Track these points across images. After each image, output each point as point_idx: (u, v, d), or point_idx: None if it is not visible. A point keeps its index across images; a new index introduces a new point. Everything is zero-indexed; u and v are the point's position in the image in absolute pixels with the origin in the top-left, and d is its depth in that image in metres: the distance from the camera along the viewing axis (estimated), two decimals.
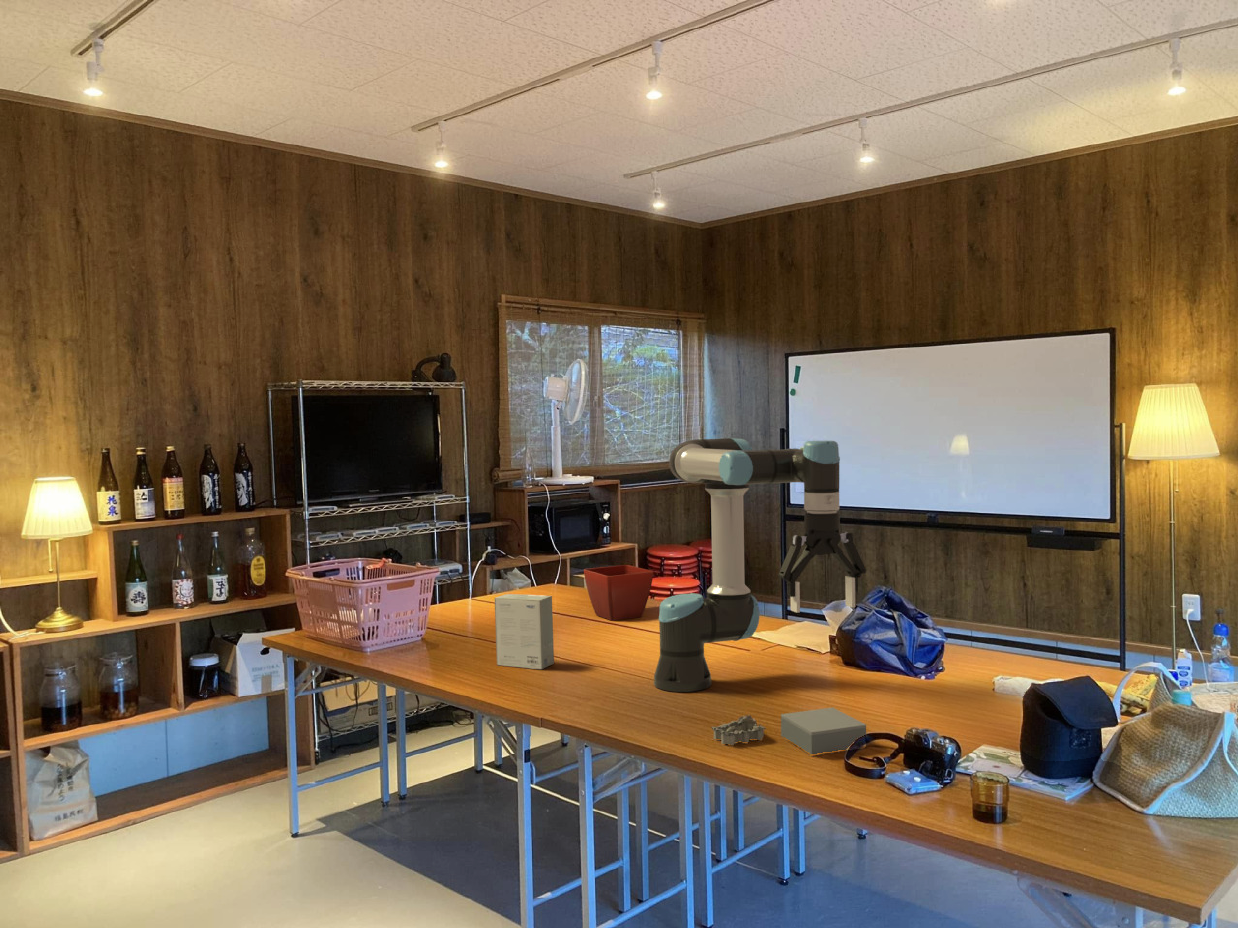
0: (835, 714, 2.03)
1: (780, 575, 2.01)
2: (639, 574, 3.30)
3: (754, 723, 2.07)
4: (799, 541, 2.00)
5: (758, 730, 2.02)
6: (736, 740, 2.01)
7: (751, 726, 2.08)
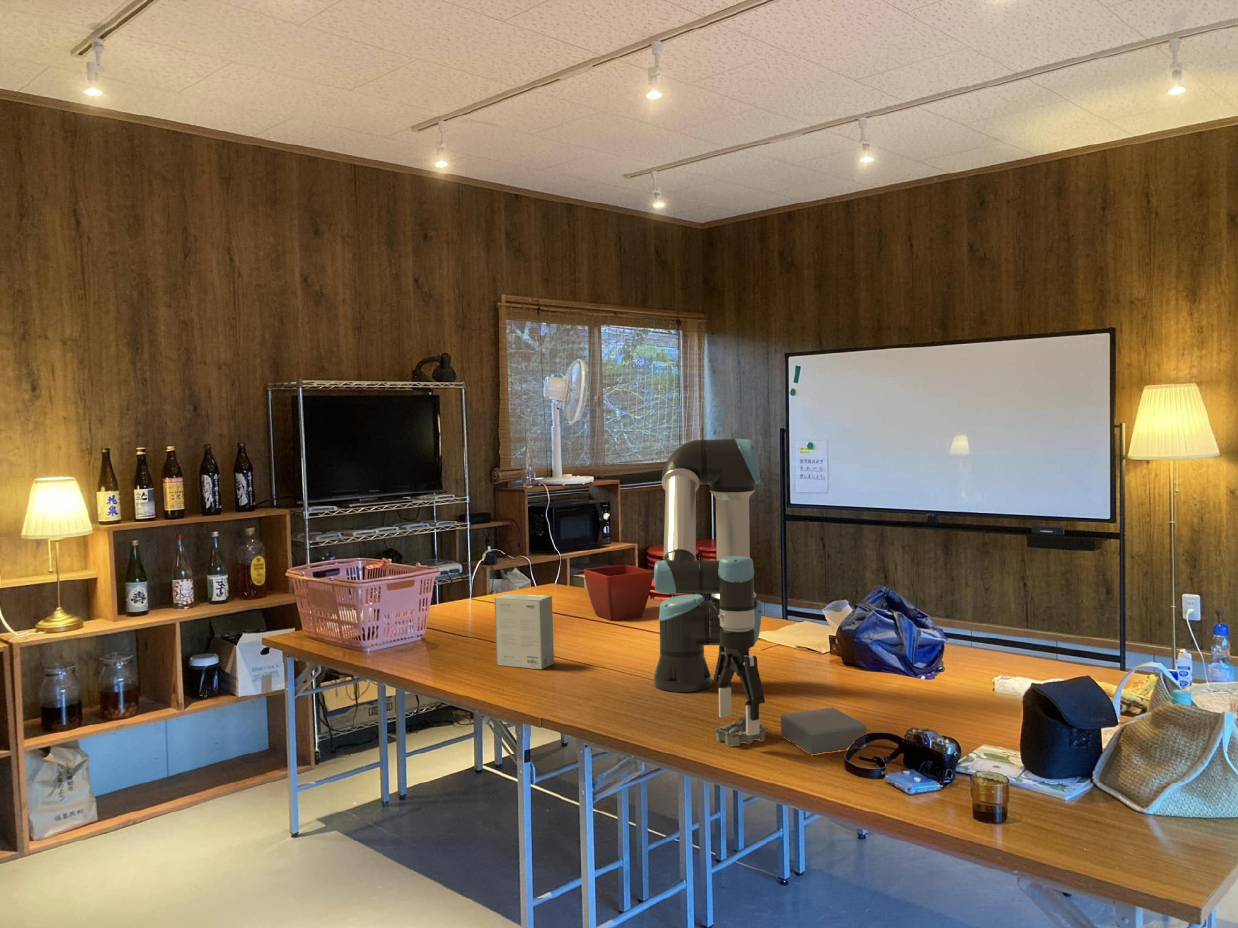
0: (835, 714, 2.03)
1: None
2: (639, 574, 3.30)
3: None
4: (720, 650, 2.09)
5: (761, 730, 2.02)
6: (740, 741, 2.01)
7: None
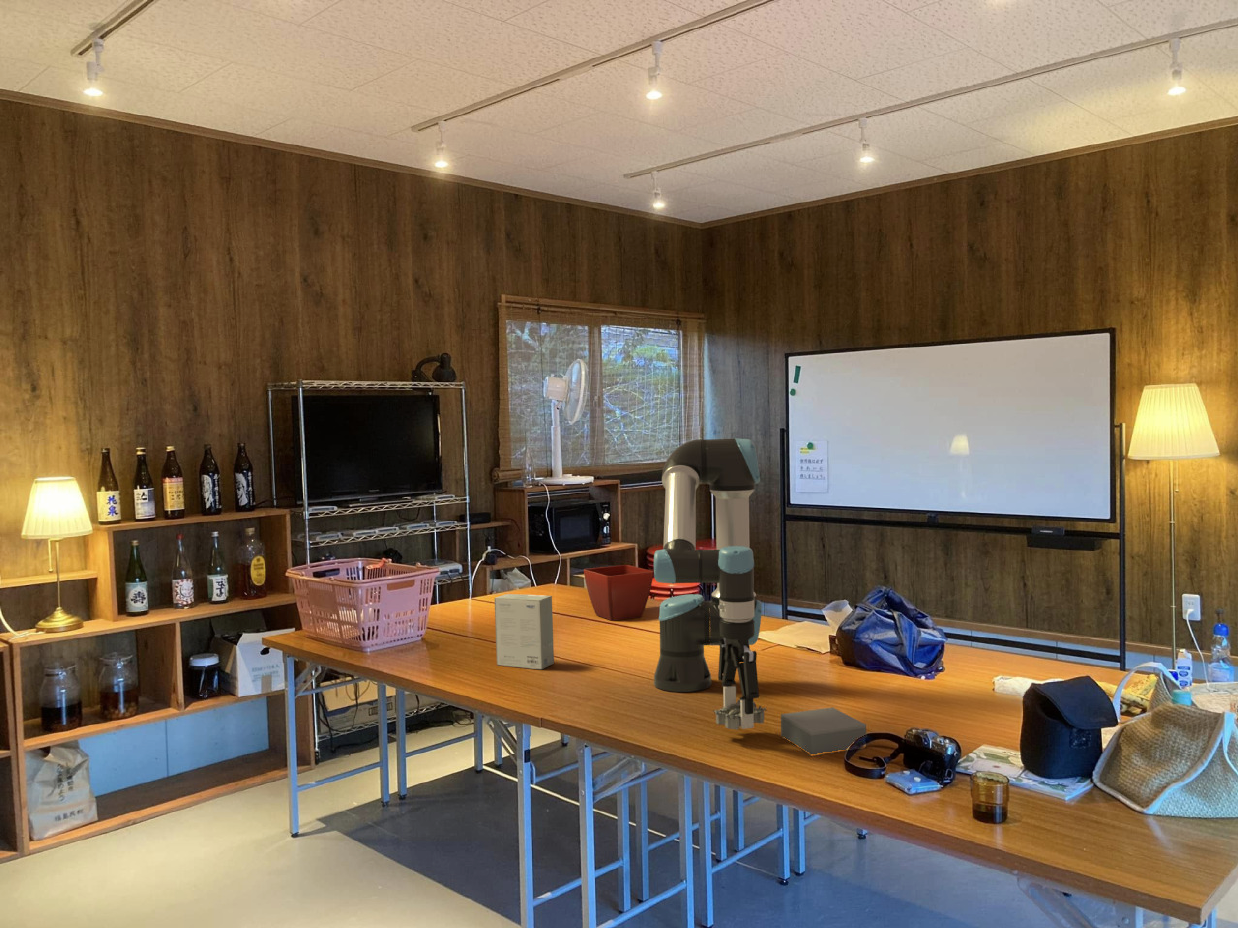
0: (835, 714, 2.03)
1: None
2: (639, 574, 3.30)
3: (753, 705, 2.09)
4: (720, 643, 2.09)
5: (760, 712, 2.03)
6: (739, 723, 2.02)
7: None
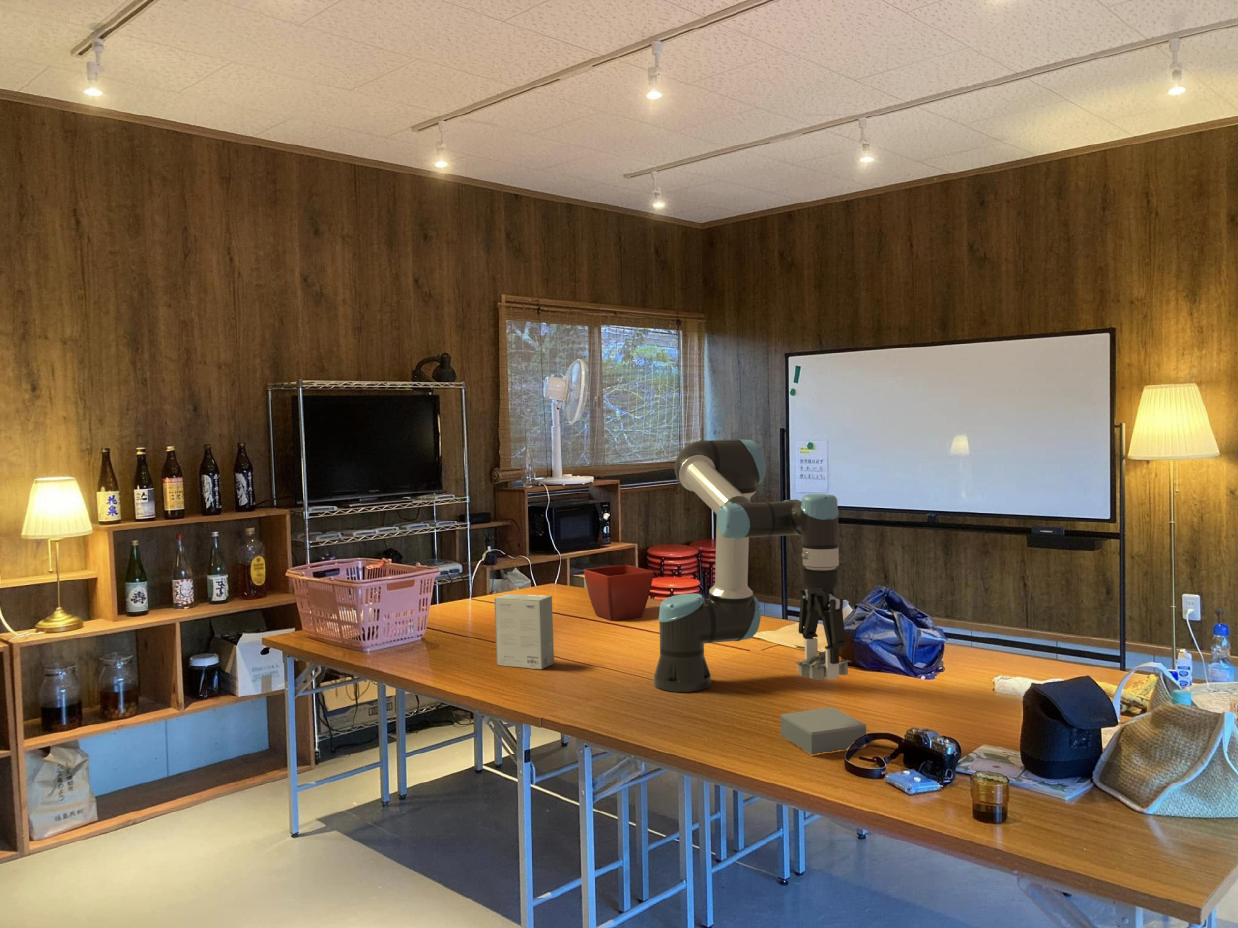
0: (835, 714, 2.03)
1: None
2: (639, 574, 3.30)
3: None
4: (801, 595, 2.04)
5: (844, 663, 1.99)
6: (824, 674, 1.97)
7: None
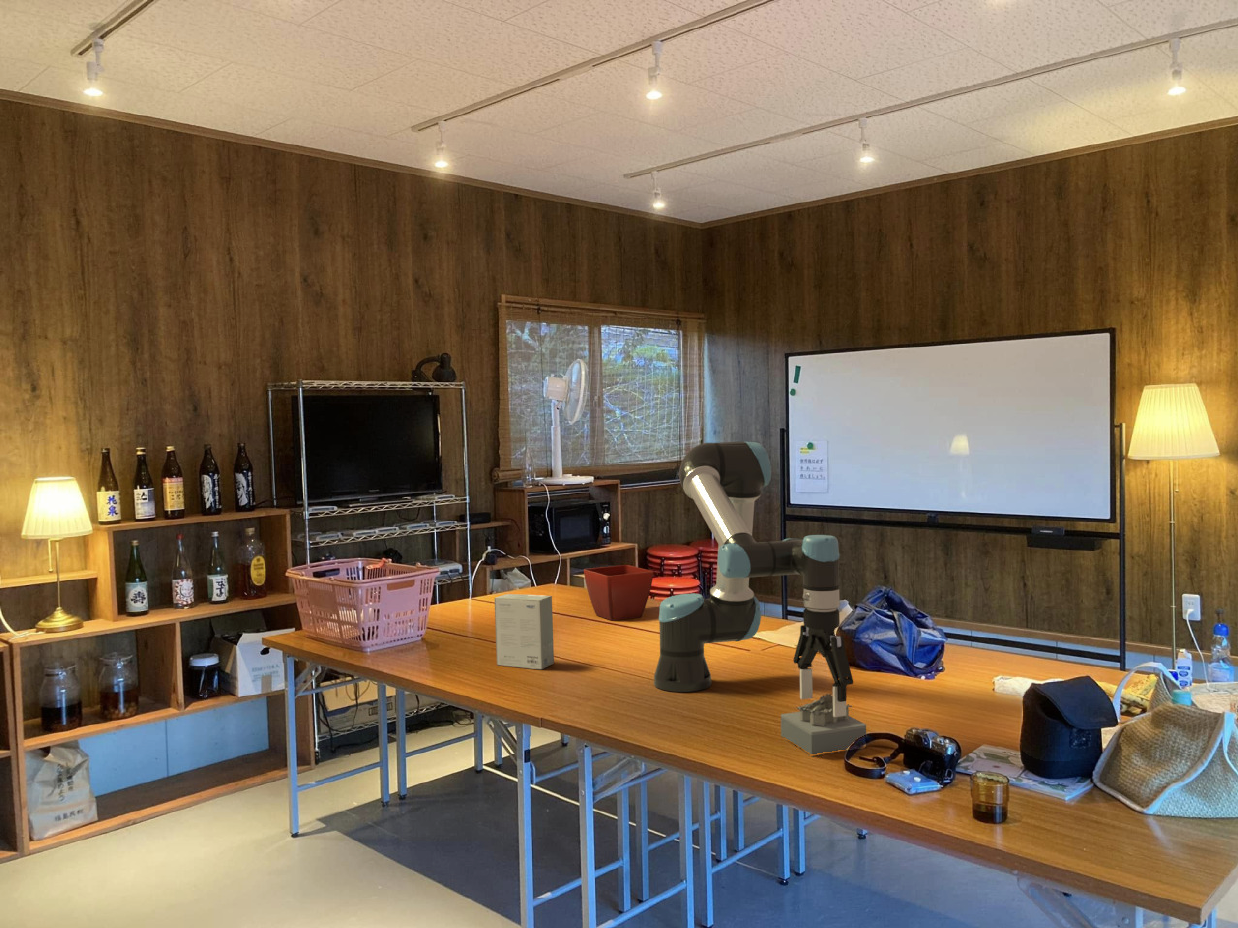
0: None
1: None
2: (639, 574, 3.30)
3: None
4: (801, 630, 2.05)
5: None
6: (824, 719, 1.98)
7: (832, 705, 2.05)
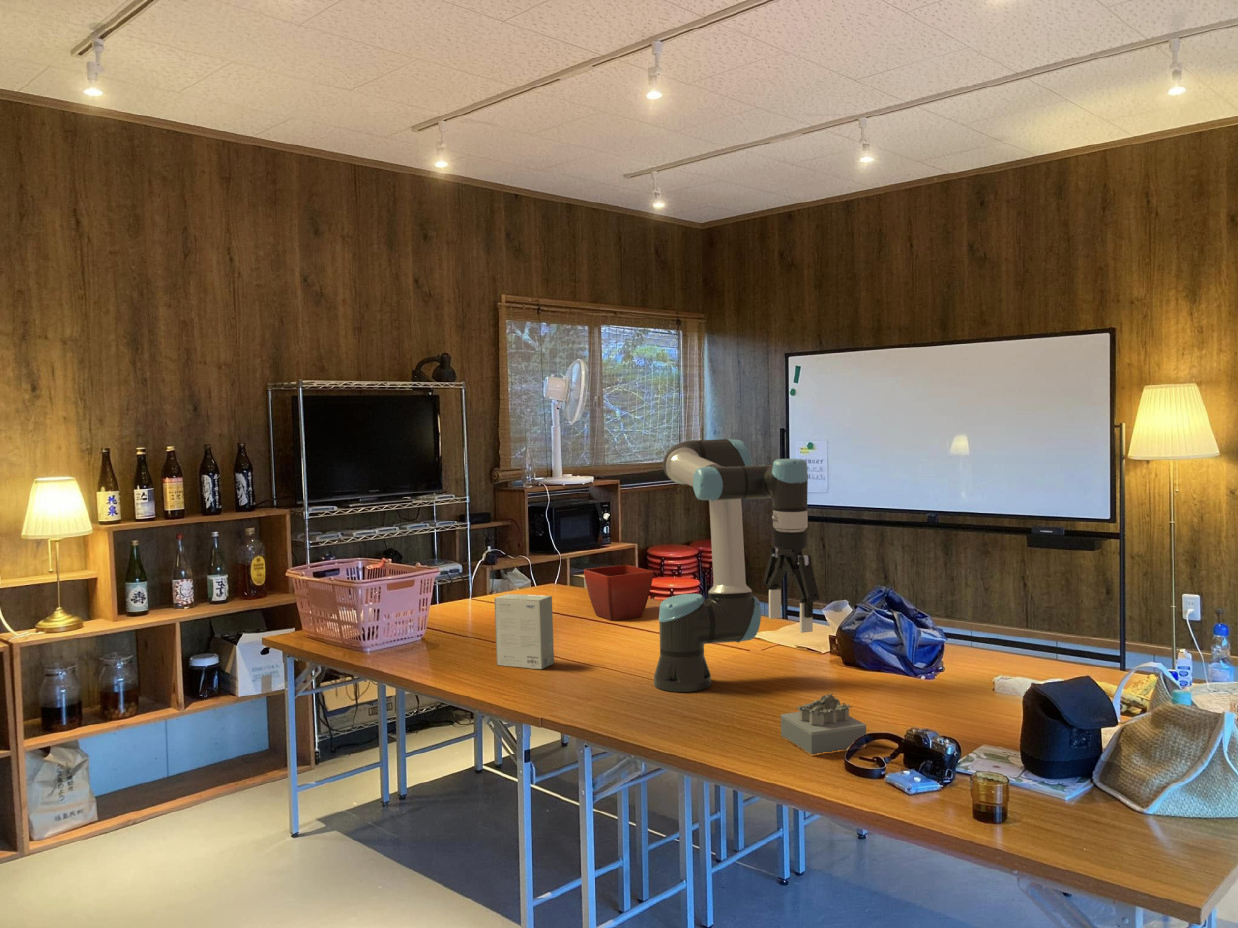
0: None
1: None
2: (639, 574, 3.30)
3: (836, 702, 2.04)
4: (771, 552, 2.11)
5: (845, 708, 1.99)
6: (824, 719, 1.98)
7: (833, 705, 2.05)
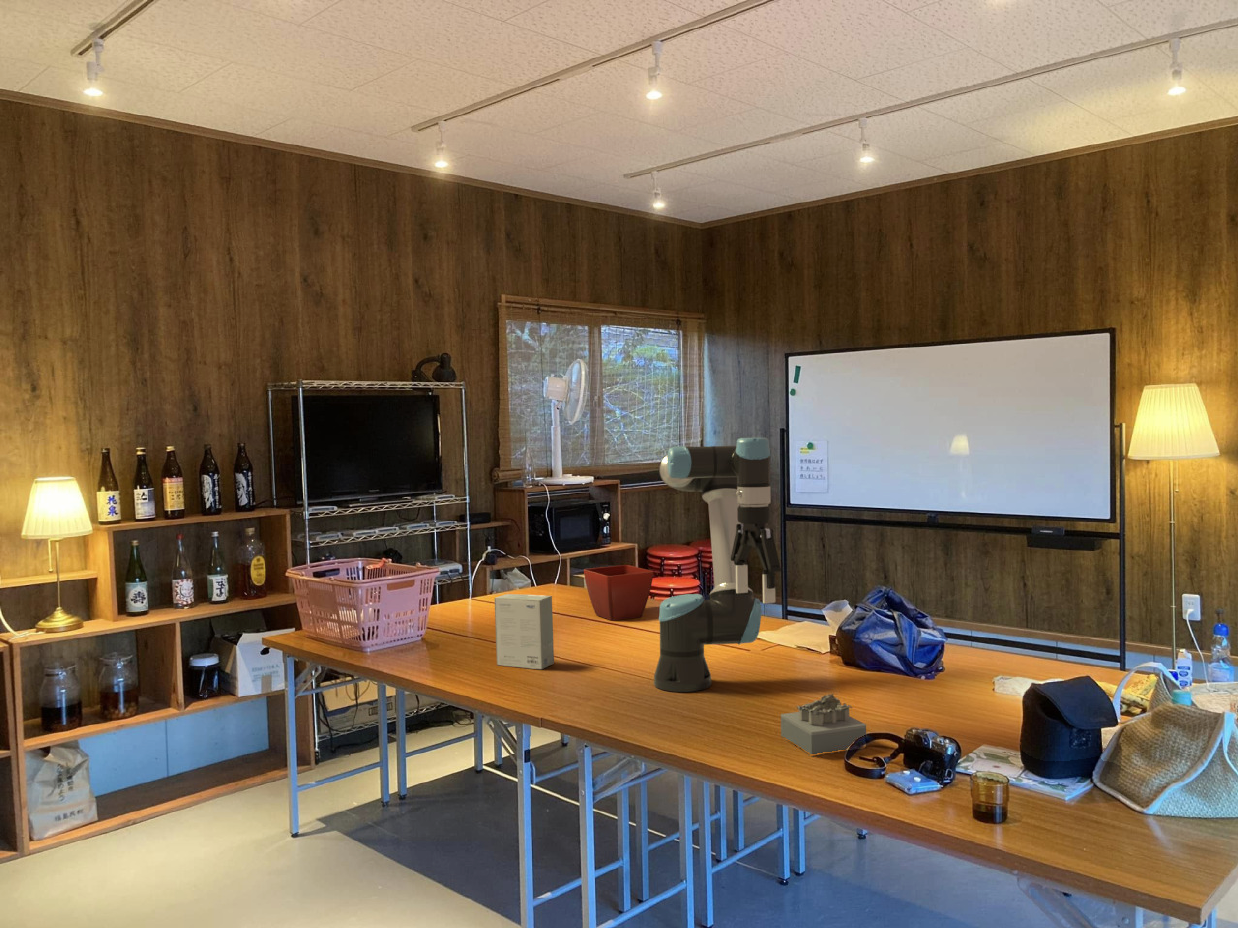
0: None
1: None
2: (639, 574, 3.30)
3: (837, 702, 2.04)
4: (737, 528, 2.19)
5: (845, 709, 1.99)
6: (823, 719, 1.98)
7: (834, 705, 2.04)
